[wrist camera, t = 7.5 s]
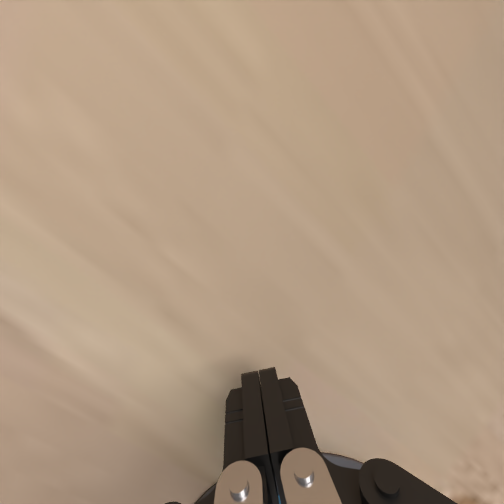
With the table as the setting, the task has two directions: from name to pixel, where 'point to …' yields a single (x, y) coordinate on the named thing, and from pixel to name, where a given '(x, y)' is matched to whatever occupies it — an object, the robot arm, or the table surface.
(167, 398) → the table surface
